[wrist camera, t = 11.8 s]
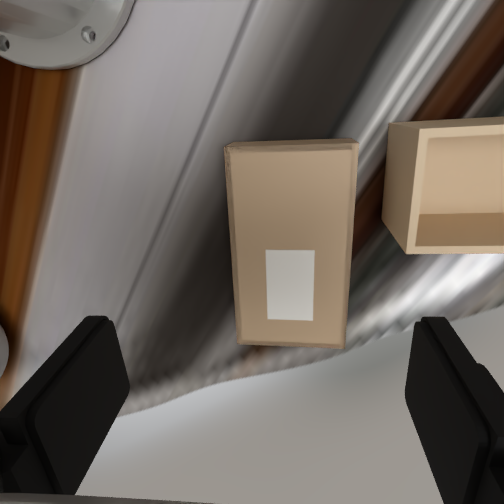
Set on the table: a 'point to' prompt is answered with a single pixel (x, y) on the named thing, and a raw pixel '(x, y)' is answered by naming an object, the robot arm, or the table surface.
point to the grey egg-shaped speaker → (3, 351)
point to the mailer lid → (291, 239)
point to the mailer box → (445, 186)
